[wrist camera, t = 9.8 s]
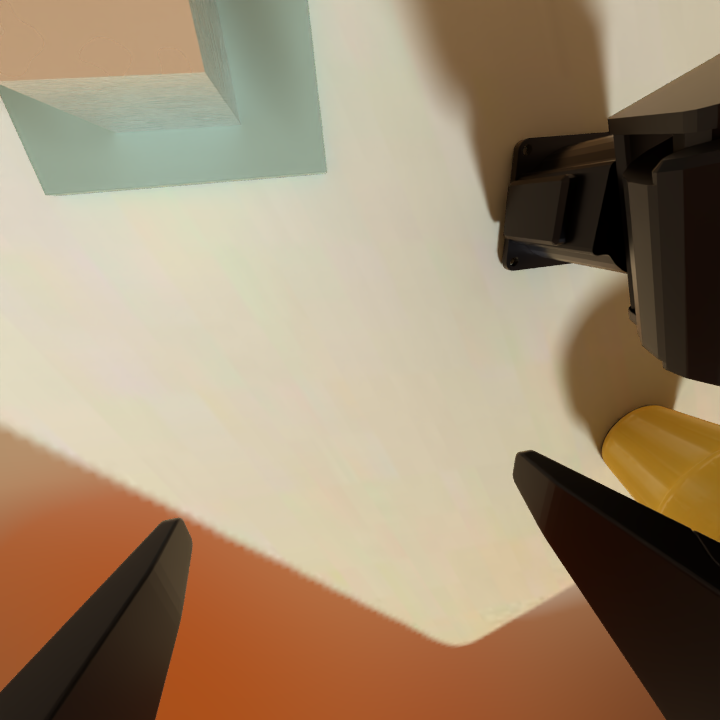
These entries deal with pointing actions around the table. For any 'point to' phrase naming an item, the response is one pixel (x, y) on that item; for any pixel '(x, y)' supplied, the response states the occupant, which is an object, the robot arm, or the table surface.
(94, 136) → the teal pad
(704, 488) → the plant pot
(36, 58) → the pale wooden block
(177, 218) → the table surface
